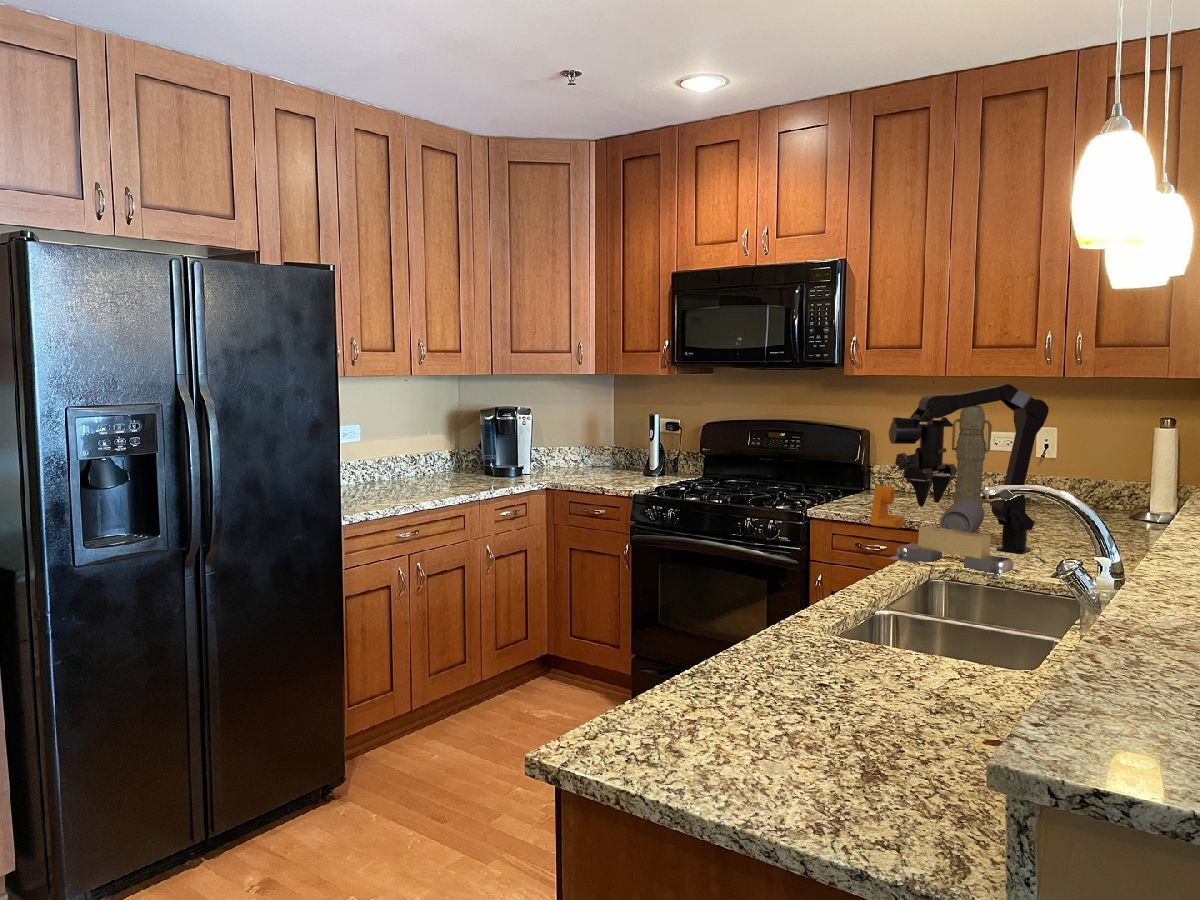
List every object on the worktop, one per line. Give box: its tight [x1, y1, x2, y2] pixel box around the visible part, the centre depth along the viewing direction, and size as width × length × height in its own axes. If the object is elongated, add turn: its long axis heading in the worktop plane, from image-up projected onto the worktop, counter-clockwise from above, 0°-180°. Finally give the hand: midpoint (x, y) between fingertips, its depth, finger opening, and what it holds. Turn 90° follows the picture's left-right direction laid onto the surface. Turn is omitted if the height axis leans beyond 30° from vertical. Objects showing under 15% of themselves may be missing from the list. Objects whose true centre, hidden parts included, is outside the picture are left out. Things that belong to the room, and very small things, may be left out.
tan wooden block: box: [917, 525, 992, 559], centre depth 212 cm, size 4×16×5 cm, turn 39°
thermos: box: [951, 405, 993, 507], centre depth 292 cm, size 9×12×35 cm
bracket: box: [870, 485, 905, 530], centre depth 264 cm, size 11×7×12 cm, turn 147°
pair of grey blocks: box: [888, 543, 1021, 579], centre depth 213 cm, size 10×28×3 cm, turn 45°
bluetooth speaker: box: [939, 499, 985, 533], centre depth 247 cm, size 23×9×10 cm, turn 149°
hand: (928, 504), depth 228 cm, fingers open, 9 cm apart
